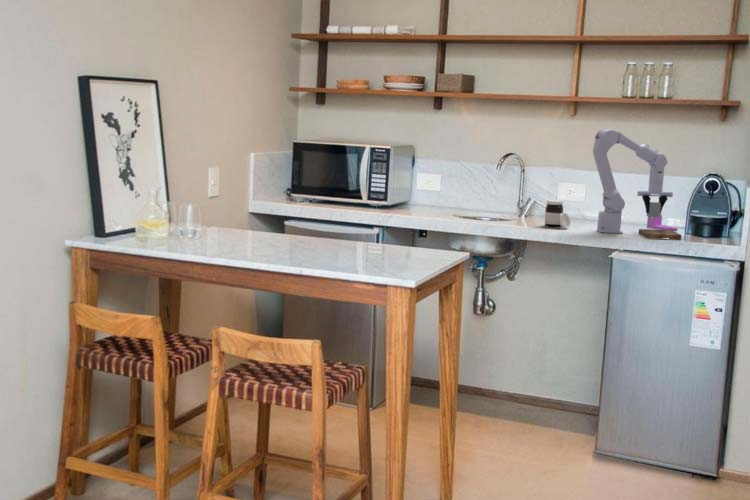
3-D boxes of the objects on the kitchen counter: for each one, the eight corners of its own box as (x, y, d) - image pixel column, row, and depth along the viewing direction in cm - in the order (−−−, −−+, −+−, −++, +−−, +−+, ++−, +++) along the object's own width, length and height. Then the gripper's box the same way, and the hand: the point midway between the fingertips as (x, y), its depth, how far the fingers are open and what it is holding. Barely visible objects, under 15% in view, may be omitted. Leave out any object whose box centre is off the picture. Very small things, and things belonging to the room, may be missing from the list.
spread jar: (545, 224, 382) (547, 199, 380) (571, 226, 379) (573, 200, 377) (542, 228, 371) (544, 201, 369) (569, 230, 367) (570, 203, 365)
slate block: (649, 217, 365) (650, 203, 364) (646, 215, 369) (647, 201, 368) (659, 217, 364) (660, 203, 363) (657, 216, 369) (658, 202, 368)
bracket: (646, 227, 383) (648, 212, 382) (653, 227, 386) (655, 211, 385) (672, 231, 373) (674, 216, 372) (679, 230, 376) (681, 215, 375)
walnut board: (646, 238, 349) (646, 233, 349) (638, 233, 363) (638, 229, 362) (681, 240, 348) (681, 235, 348) (671, 234, 362) (672, 230, 362)
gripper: (641, 181, 361) (638, 213, 363) (675, 183, 360) (673, 214, 362) (637, 180, 368) (634, 211, 370) (671, 181, 367) (668, 212, 369)
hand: (653, 213), depth 366 cm, fingers closed on slate block, 4 cm apart
